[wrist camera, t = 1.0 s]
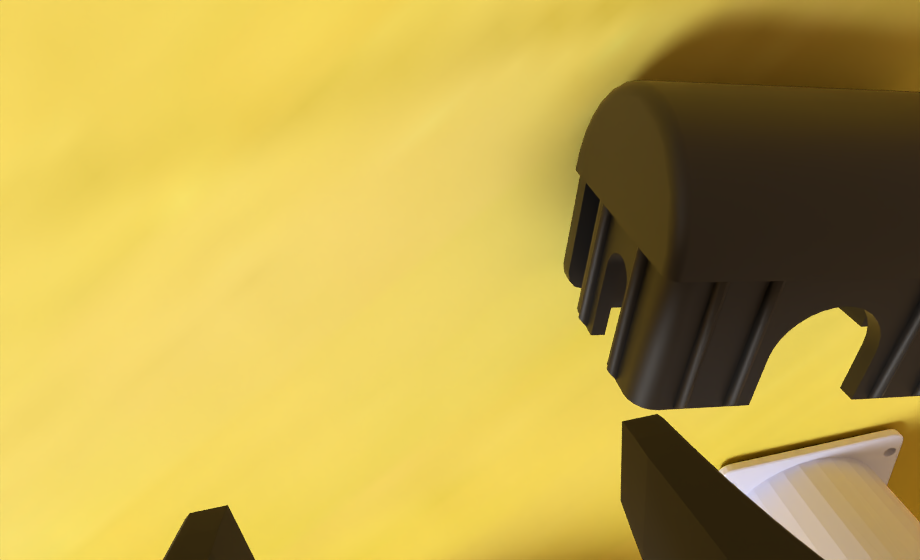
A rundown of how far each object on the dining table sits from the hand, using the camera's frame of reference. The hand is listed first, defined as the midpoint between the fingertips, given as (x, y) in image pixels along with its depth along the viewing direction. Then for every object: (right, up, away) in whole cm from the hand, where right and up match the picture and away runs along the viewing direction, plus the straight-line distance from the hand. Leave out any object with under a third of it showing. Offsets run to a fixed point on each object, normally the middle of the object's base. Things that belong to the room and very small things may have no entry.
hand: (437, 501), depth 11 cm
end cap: (+8, +7, +9) cm, 14 cm away
